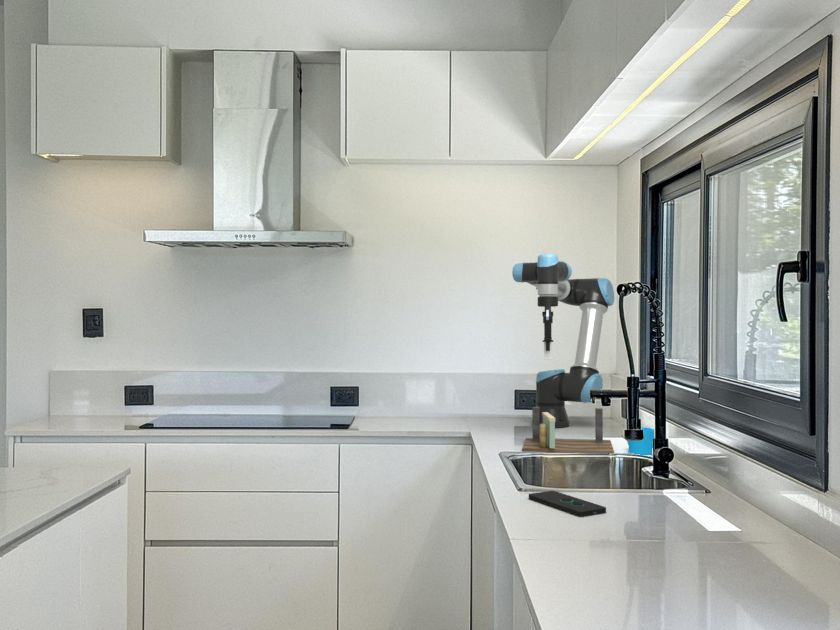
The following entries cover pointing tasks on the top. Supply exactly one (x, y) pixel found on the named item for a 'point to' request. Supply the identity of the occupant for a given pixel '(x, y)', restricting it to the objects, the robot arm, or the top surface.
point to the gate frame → (567, 445)
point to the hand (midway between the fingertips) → (548, 359)
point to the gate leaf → (549, 428)
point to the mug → (643, 443)
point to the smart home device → (567, 503)
